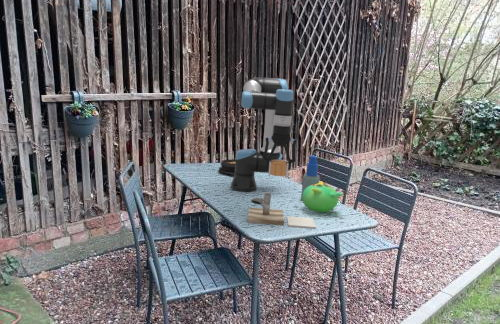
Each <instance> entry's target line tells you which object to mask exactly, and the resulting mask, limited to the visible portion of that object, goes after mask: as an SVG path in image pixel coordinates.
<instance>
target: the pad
mask: <svg viewBox="0 0 500 324" xmlns="http://www.w3.org/2000/svg"><path fill="white" fill-rule="evenodd" d="M286 221H287V227H289V228H299V229H310V230H311V229H313V230H316V229H317V226H316V222H315V221H314V218H313V217H303V216H300V217H299V216H292V215H291V216H289V215H286Z"/></svg>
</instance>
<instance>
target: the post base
mask: <svg viewBox="0 0 500 324" xmlns="http://www.w3.org/2000/svg"><path fill="white" fill-rule="evenodd" d="M271 196H272V193H271V192H269V191H265V192H264V193H263V200H264V201H263V204H262V205H263V206H262V208H261V207H252V206H251V207H249V209H248V215H247V223H248V224H260V225H272V226H284V225H285V218H284V212H283V209H273V208H271V200H272V199H271Z"/></svg>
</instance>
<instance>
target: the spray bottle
mask: <svg viewBox="0 0 500 324" xmlns="http://www.w3.org/2000/svg"><path fill="white" fill-rule="evenodd" d="M318 170H319V163H318V156H317V155H313V154H312V155H309V160H308V162H307V164H306V173H303V175H302V184H301V185H302V186H301V194H300V195H301V196H300V201H301V202H303V200H302V194H303V192H304V190H305V189H306V188H307V187H308V186H310V185H313V184H318V183H319V182H321V180H320V179H321V178H320V174H318V172H319V171H318Z"/></svg>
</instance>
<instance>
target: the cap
mask: <svg viewBox="0 0 500 324" xmlns="http://www.w3.org/2000/svg"><path fill="white" fill-rule="evenodd" d="M287 162H288V160H287V161H286V160H284V159H282V160H271V171H270V176H277V177H284V176H286V168H287Z"/></svg>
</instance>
